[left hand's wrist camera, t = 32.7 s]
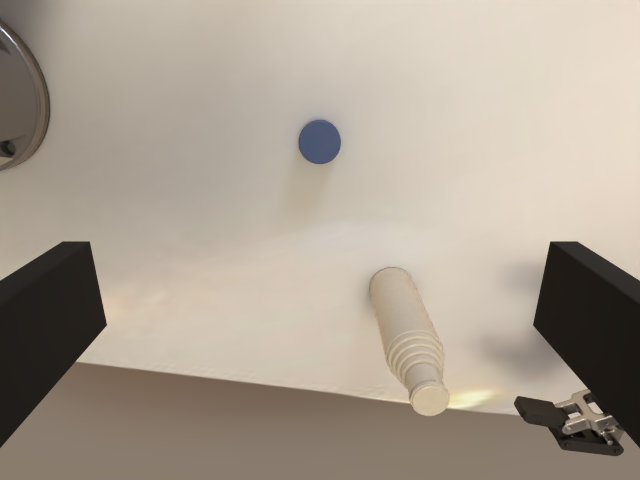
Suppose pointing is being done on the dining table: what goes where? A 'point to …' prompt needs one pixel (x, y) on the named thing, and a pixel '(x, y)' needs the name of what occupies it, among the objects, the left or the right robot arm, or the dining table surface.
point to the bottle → (409, 340)
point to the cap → (319, 142)
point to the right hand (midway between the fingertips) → (537, 369)
